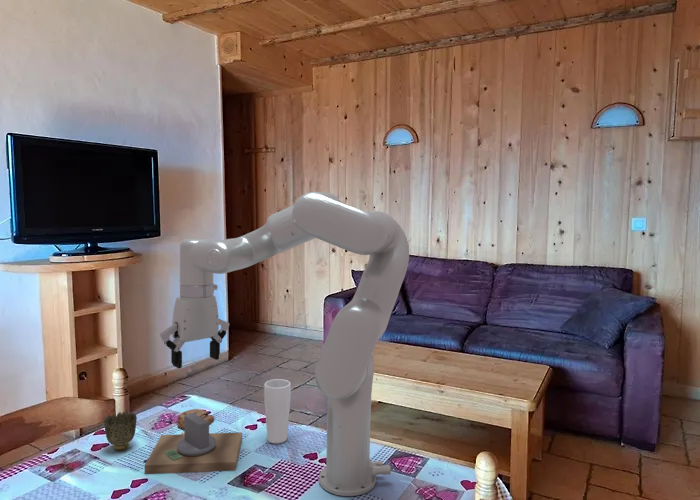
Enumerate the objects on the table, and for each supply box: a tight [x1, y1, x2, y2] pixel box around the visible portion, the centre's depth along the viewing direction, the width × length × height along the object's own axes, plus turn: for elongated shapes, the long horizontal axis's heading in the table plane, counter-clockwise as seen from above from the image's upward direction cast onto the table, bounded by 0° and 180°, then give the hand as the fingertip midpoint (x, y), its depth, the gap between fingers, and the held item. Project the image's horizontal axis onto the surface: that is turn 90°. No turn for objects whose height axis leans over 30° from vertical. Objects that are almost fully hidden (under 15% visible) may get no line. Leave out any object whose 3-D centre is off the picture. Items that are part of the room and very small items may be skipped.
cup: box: [103, 411, 138, 452], centre depth 125 cm, size 8×7×8 cm
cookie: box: [177, 408, 215, 430], centre depth 141 cm, size 10×11×3 cm
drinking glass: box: [263, 378, 292, 444], centre depth 131 cm, size 7×7×15 cm
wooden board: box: [144, 432, 243, 475], centre depth 123 cm, size 20×15×2 cm
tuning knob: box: [177, 413, 216, 456], centre depth 123 cm, size 11×9×7 cm
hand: (196, 362), depth 121 cm, fingers open, 9 cm apart
